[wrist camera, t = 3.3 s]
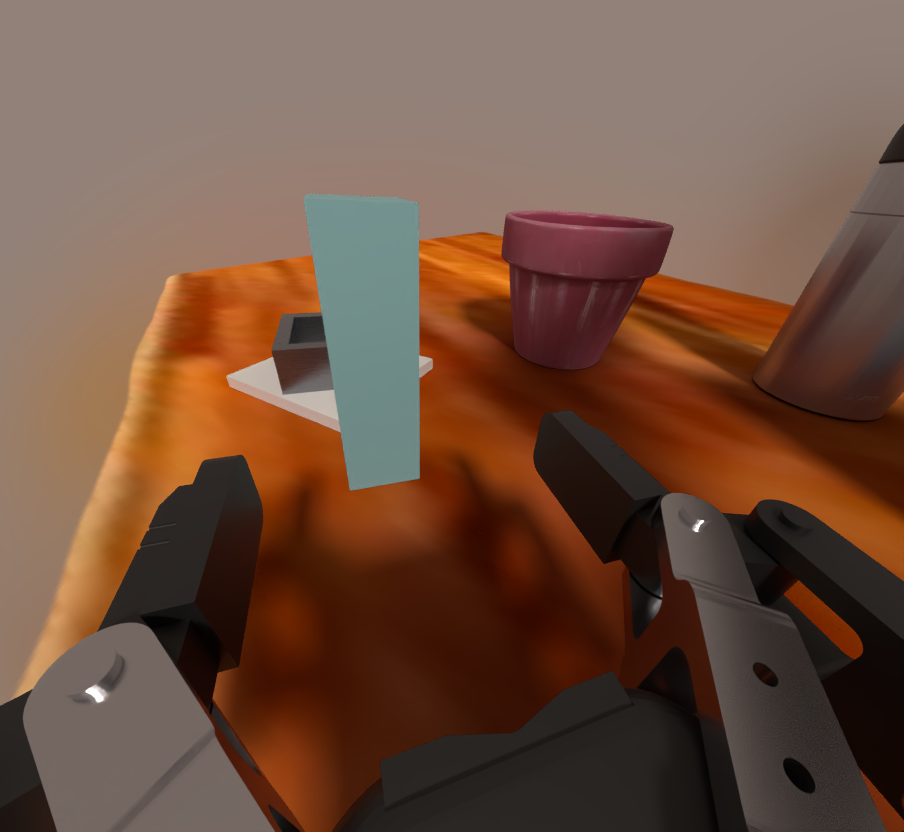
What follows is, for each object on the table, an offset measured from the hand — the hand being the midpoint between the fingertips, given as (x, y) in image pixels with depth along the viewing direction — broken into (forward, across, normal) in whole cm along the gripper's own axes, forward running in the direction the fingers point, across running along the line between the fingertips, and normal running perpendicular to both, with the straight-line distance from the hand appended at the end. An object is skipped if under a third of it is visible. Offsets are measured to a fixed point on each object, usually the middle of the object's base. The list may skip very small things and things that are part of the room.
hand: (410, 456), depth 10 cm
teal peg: (+10, 0, +8) cm, 13 cm away
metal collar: (+22, +2, +8) cm, 23 cm away
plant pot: (+23, -20, +9) cm, 32 cm away
